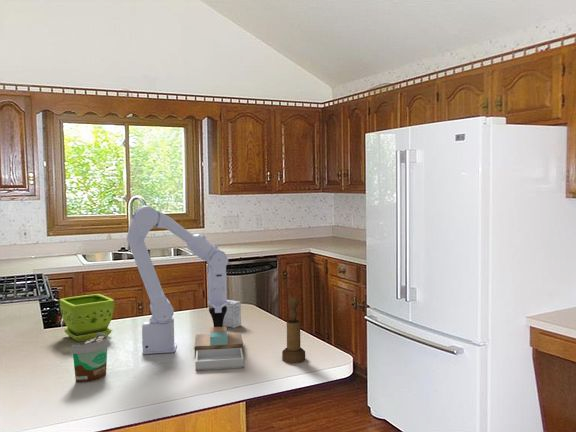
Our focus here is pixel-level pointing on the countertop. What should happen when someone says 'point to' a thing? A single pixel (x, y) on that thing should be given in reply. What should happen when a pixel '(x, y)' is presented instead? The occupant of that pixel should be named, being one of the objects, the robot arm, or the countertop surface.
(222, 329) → the terracotta tile
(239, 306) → the medicine box
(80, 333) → the flower pot
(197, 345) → the walnut board
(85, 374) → the food container
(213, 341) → the teal tile
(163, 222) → the robot arm
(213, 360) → the tray
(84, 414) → the countertop surface
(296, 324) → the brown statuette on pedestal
